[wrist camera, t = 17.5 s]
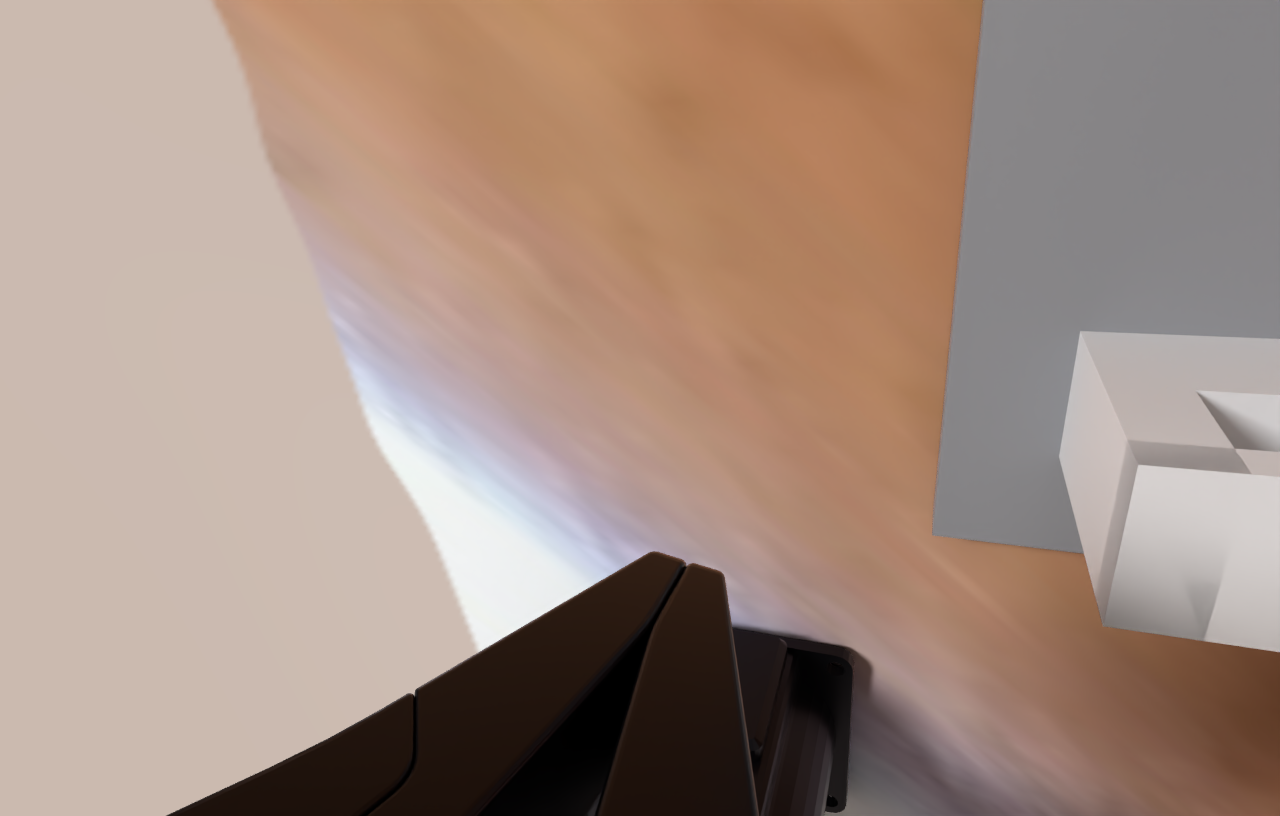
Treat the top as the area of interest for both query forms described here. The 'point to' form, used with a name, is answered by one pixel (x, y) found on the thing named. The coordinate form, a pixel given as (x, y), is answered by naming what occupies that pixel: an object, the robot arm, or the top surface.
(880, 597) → the top surface
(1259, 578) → the mounting plate
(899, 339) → the top surface
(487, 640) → the top surface
